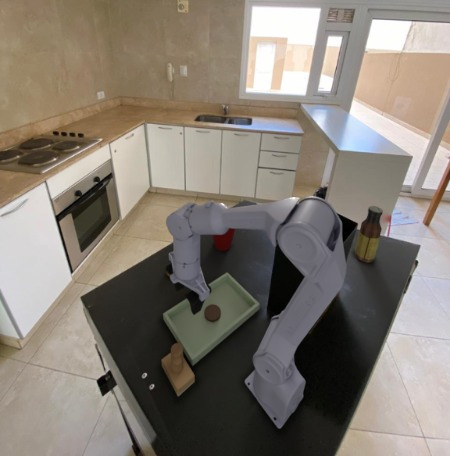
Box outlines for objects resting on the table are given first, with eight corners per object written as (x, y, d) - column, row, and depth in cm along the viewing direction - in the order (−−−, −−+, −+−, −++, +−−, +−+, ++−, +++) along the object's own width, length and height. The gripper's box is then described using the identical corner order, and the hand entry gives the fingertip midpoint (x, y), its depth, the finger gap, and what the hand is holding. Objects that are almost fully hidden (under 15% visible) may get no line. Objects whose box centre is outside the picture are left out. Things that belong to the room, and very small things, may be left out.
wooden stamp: (194, 382, 53) (194, 357, 50) (178, 397, 51) (176, 371, 47) (177, 354, 58) (176, 329, 55) (161, 366, 56) (159, 341, 52)
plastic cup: (223, 231, 99) (224, 205, 95) (243, 246, 92) (245, 219, 87) (201, 244, 92) (201, 216, 88) (220, 261, 85) (222, 232, 80)
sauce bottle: (374, 255, 90) (389, 208, 83) (372, 266, 85) (389, 217, 78) (354, 248, 94) (367, 201, 86) (351, 258, 89) (365, 210, 81)
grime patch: (224, 315, 67) (224, 313, 66) (211, 325, 64) (211, 323, 64) (214, 303, 70) (214, 301, 69) (201, 312, 67) (201, 310, 67)
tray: (259, 310, 69) (259, 303, 68) (192, 367, 56) (192, 360, 55) (226, 278, 78) (227, 272, 77) (163, 320, 65) (162, 313, 64)
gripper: (155, 243, 58) (159, 287, 63) (188, 286, 48) (189, 334, 53) (182, 232, 62) (183, 273, 67) (218, 269, 52) (216, 315, 57)
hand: (187, 299), depth 60 cm, fingers open, 7 cm apart
